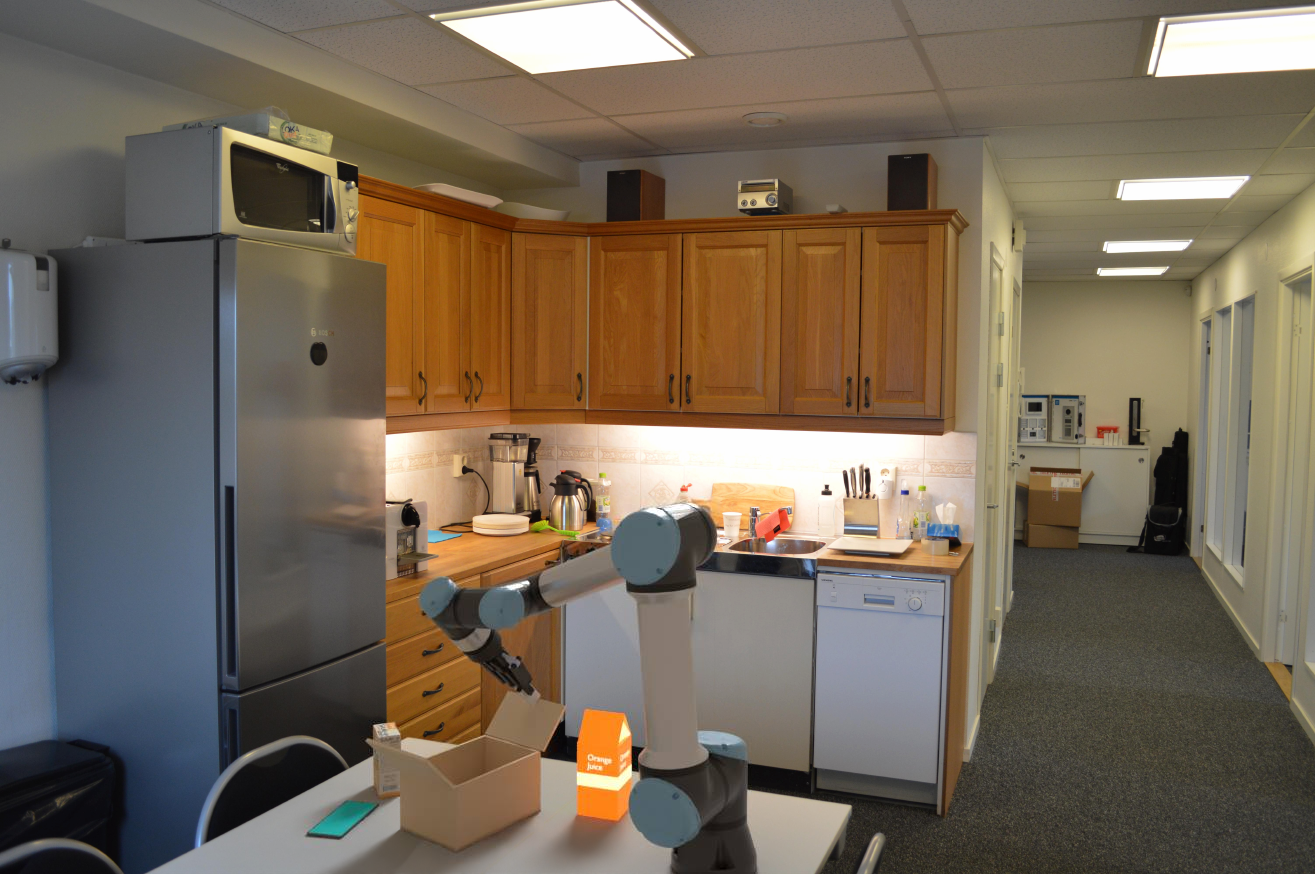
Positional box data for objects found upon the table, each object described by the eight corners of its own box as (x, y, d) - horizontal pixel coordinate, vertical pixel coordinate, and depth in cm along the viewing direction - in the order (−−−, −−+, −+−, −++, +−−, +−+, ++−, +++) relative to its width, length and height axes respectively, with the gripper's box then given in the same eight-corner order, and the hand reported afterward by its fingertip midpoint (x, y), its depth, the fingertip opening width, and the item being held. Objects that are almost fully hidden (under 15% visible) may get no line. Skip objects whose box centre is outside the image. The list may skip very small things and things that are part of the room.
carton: (540, 810, 187) (540, 751, 186) (456, 852, 169) (456, 787, 169) (485, 790, 196) (485, 734, 196) (400, 828, 178) (399, 766, 178)
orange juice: (617, 820, 182) (617, 719, 181) (576, 814, 185) (576, 714, 184) (631, 804, 189) (631, 707, 189) (591, 798, 192) (591, 703, 192)
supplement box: (372, 784, 199) (371, 724, 199) (395, 781, 201) (395, 721, 201) (378, 799, 192) (377, 736, 191) (402, 795, 194) (401, 733, 193)
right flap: (542, 750, 186) (544, 751, 187) (565, 705, 192) (566, 706, 192) (485, 732, 196) (486, 734, 197) (508, 690, 201) (509, 691, 202)
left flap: (426, 758, 162) (424, 761, 162) (456, 787, 168) (454, 790, 168) (367, 737, 172) (365, 740, 172) (397, 766, 178) (395, 768, 178)
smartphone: (305, 833, 176) (346, 800, 190) (305, 837, 176) (346, 804, 190) (341, 836, 174) (379, 803, 189) (341, 841, 174) (379, 807, 189)
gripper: (509, 625, 181) (566, 690, 195) (463, 616, 188) (521, 679, 202) (489, 658, 176) (549, 721, 190) (443, 647, 184) (504, 709, 198)
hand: (535, 699), depth 196 cm, fingers closed
